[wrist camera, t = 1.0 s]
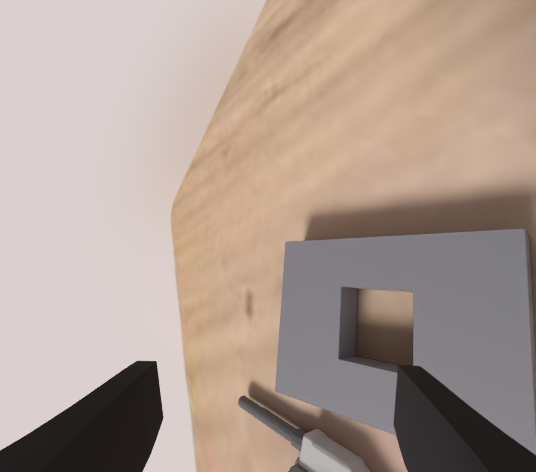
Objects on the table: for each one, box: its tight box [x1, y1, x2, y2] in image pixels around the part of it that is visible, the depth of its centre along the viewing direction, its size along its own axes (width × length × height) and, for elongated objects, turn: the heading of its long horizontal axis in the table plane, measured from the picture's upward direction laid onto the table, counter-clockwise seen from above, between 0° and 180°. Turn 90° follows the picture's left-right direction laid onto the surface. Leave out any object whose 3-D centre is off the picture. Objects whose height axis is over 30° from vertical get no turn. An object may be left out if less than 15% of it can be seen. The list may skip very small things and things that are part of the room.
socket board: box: [275, 228, 536, 455], centre depth 22 cm, size 16×12×2 cm
